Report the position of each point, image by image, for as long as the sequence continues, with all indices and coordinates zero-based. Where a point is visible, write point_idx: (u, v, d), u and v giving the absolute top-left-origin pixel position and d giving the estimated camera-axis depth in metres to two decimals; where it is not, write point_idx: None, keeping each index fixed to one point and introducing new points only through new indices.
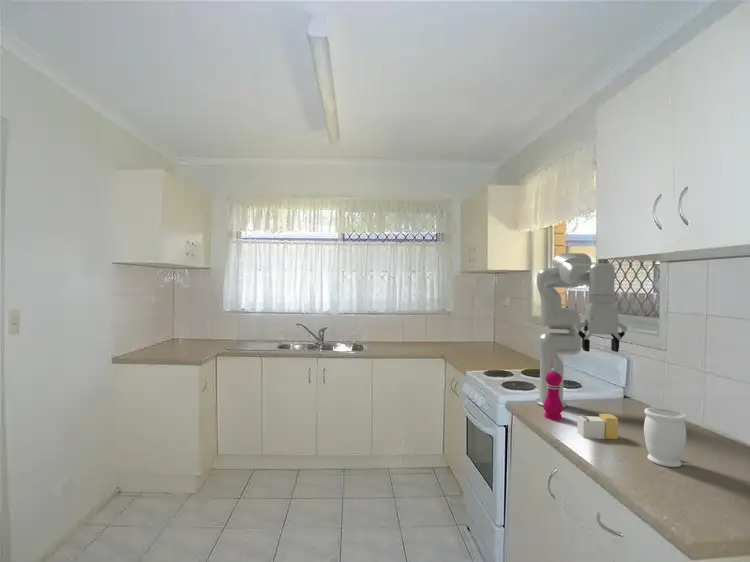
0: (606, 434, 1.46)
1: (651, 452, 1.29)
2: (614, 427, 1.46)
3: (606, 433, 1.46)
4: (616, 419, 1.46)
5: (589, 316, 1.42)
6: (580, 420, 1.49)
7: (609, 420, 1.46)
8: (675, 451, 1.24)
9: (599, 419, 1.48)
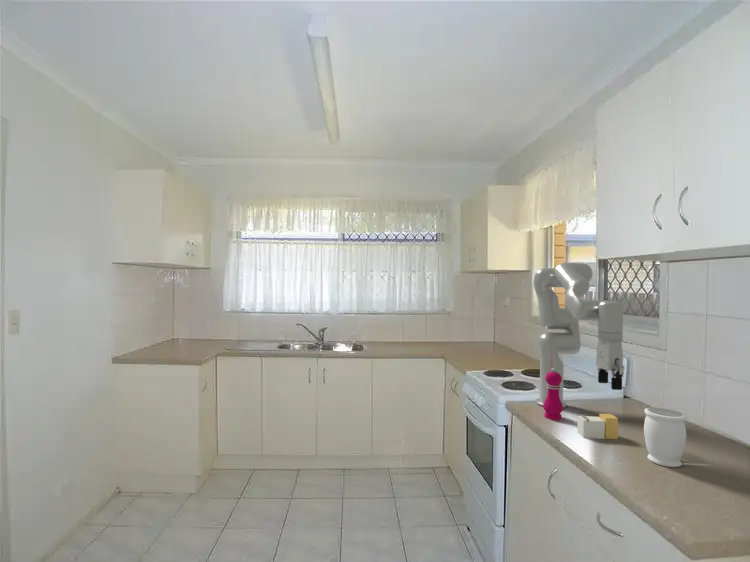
0: (606, 434, 1.46)
1: (651, 452, 1.29)
2: (614, 427, 1.46)
3: (606, 433, 1.46)
4: (616, 419, 1.46)
5: (621, 354, 1.44)
6: (580, 420, 1.49)
7: (609, 420, 1.46)
8: (675, 451, 1.24)
9: (599, 419, 1.48)
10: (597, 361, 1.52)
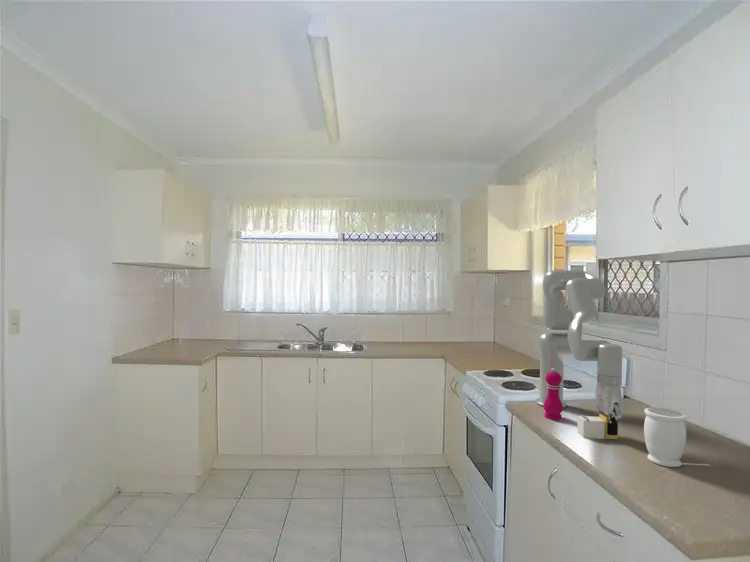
0: (606, 434, 1.46)
1: (651, 452, 1.29)
2: None
3: (606, 433, 1.46)
4: None
5: (620, 398, 1.44)
6: (580, 420, 1.49)
7: None
8: (675, 451, 1.24)
9: (599, 419, 1.48)
10: (596, 403, 1.52)
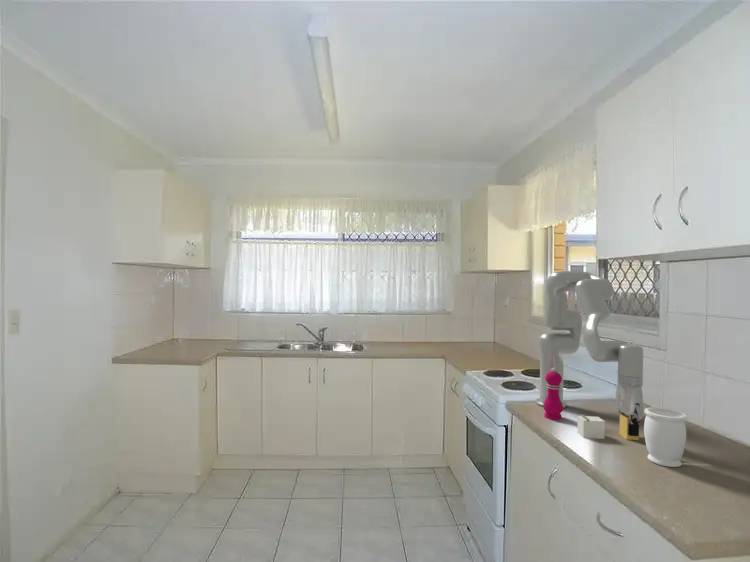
0: (627, 435, 1.46)
1: (651, 452, 1.29)
2: None
3: (627, 434, 1.46)
4: None
5: (641, 399, 1.43)
6: (580, 420, 1.49)
7: None
8: (675, 451, 1.24)
9: (599, 419, 1.48)
10: (616, 403, 1.52)
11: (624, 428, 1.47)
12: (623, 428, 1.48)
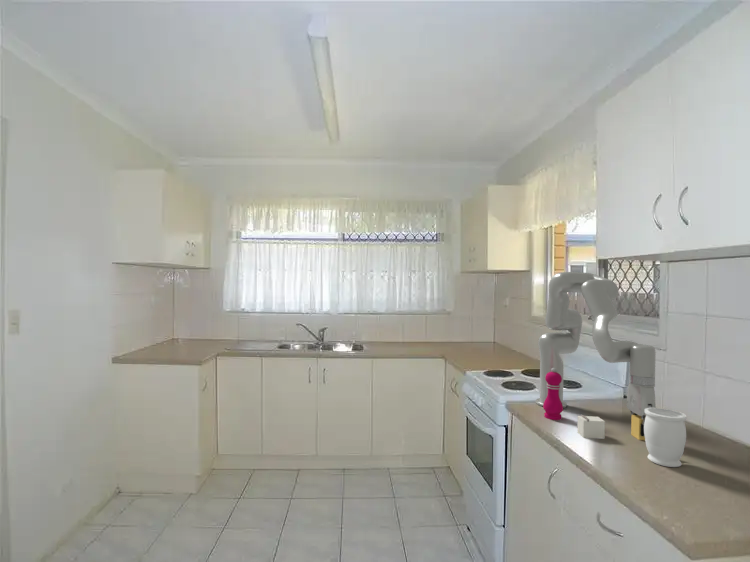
0: (639, 435, 1.45)
1: (651, 452, 1.29)
2: None
3: (639, 434, 1.45)
4: None
5: (654, 400, 1.43)
6: (580, 420, 1.49)
7: None
8: (675, 451, 1.24)
9: (599, 419, 1.48)
10: (628, 404, 1.51)
11: (636, 428, 1.47)
12: (636, 428, 1.47)
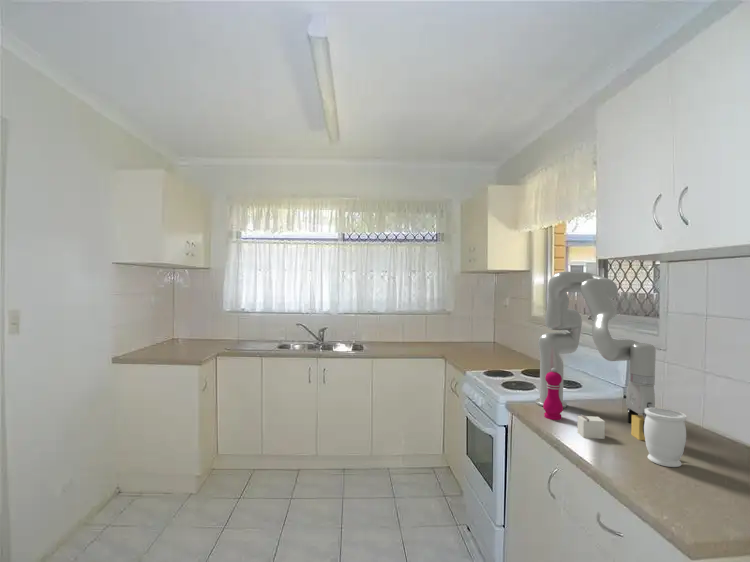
0: (639, 435, 1.45)
1: (651, 452, 1.29)
2: None
3: (639, 434, 1.45)
4: None
5: (653, 398, 1.43)
6: (580, 420, 1.49)
7: (642, 421, 1.45)
8: (675, 451, 1.24)
9: (599, 419, 1.48)
10: (627, 402, 1.51)
11: (636, 428, 1.47)
12: (636, 428, 1.47)
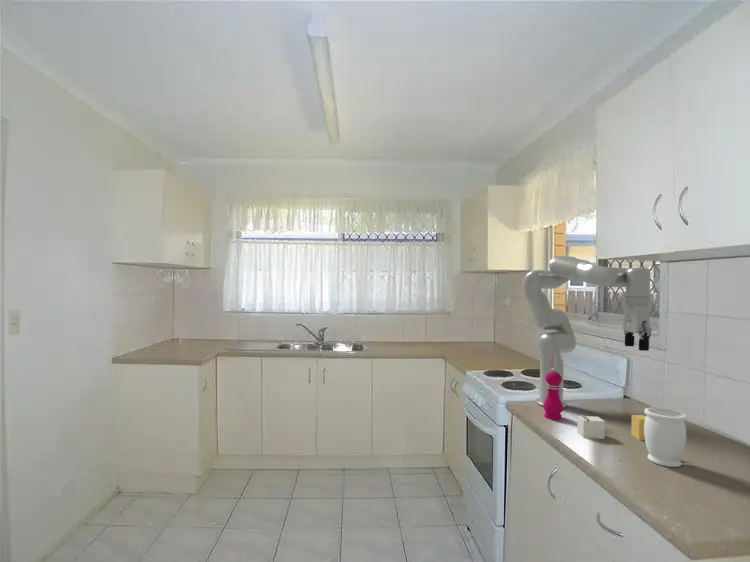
0: (639, 435, 1.45)
1: (651, 452, 1.29)
2: None
3: (639, 434, 1.45)
4: None
5: (648, 317, 1.52)
6: (580, 420, 1.49)
7: (642, 421, 1.45)
8: (675, 451, 1.24)
9: (599, 419, 1.48)
10: (624, 325, 1.60)
11: (636, 428, 1.47)
12: (636, 428, 1.47)
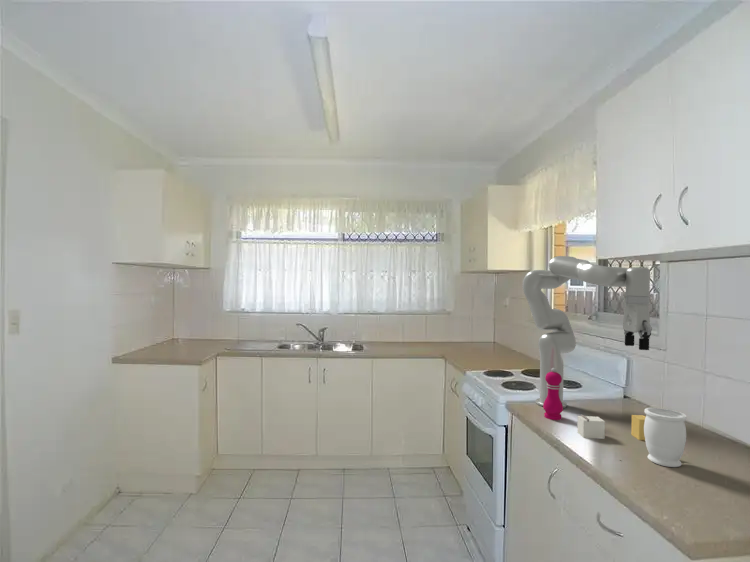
0: (639, 435, 1.45)
1: (651, 452, 1.29)
2: None
3: (639, 434, 1.45)
4: None
5: (648, 316, 1.52)
6: (580, 420, 1.49)
7: (642, 421, 1.45)
8: (675, 451, 1.24)
9: (599, 419, 1.48)
10: (624, 325, 1.60)
11: (636, 428, 1.47)
12: (636, 428, 1.47)
